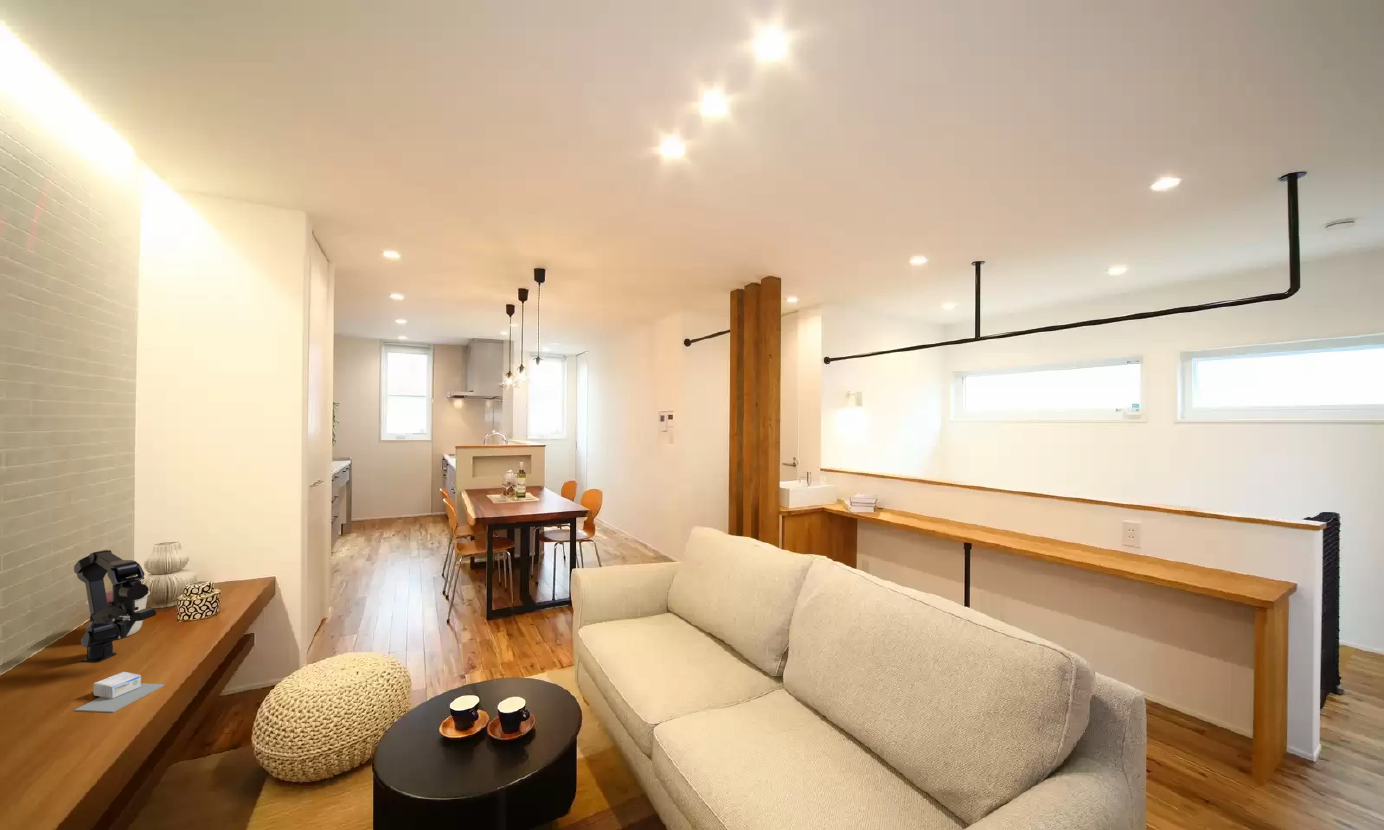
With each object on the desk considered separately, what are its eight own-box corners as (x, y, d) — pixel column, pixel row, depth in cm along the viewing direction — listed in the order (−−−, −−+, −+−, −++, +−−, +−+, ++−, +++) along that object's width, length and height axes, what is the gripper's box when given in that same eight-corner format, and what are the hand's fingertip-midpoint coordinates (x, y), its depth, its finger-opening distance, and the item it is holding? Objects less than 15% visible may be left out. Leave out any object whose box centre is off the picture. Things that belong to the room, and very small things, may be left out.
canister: (81, 636, 211) (83, 586, 210) (144, 622, 225) (146, 576, 225) (87, 649, 200) (88, 597, 200) (152, 634, 215) (154, 585, 215)
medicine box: (92, 695, 171) (111, 699, 169) (93, 682, 171) (111, 686, 169) (123, 683, 178) (141, 687, 177) (123, 670, 178) (141, 674, 177)
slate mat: (74, 710, 163) (74, 709, 163) (129, 683, 179) (129, 682, 179) (112, 712, 163) (112, 711, 163) (164, 685, 179) (164, 684, 179)
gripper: (72, 604, 180) (71, 647, 180) (125, 603, 180) (125, 646, 180) (107, 593, 191) (107, 634, 191) (157, 592, 192) (157, 633, 191)
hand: (123, 637), depth 188 cm, fingers closed
